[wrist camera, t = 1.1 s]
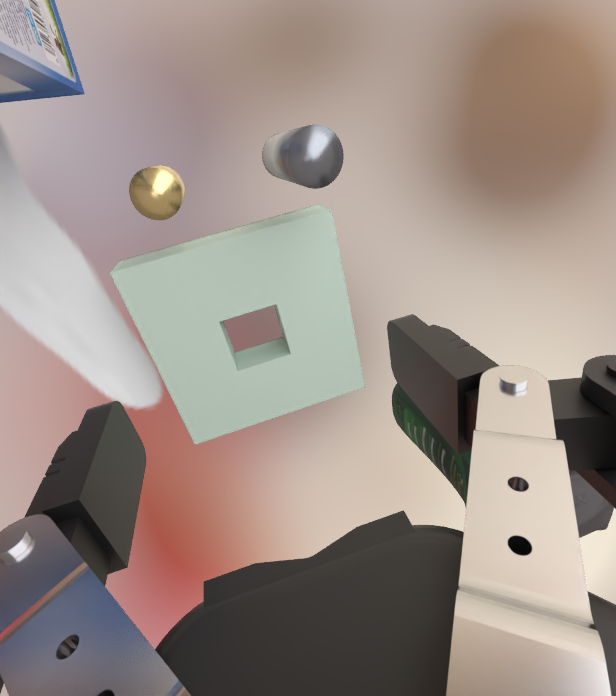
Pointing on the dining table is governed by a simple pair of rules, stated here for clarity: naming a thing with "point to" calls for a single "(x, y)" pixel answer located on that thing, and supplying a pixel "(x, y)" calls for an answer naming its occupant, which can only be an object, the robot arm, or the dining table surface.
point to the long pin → (304, 156)
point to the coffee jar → (456, 468)
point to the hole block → (240, 298)
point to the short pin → (157, 192)
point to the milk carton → (34, 52)
